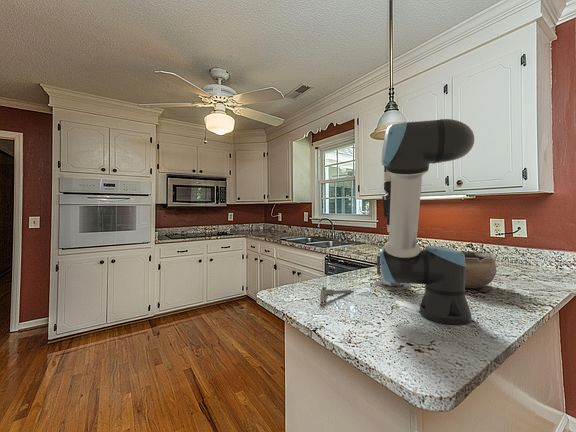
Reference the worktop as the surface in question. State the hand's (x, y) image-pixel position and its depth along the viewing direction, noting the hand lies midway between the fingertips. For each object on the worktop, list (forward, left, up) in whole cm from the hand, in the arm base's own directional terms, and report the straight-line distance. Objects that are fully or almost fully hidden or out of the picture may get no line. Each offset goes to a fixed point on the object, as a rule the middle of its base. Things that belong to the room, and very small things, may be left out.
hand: (392, 231), depth 126 cm
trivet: (0, 0, -26) cm, 26 cm away
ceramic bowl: (-22, -26, -26) cm, 42 cm away
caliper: (+6, +31, -26) cm, 41 cm away
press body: (+2, 0, -25) cm, 25 cm away
